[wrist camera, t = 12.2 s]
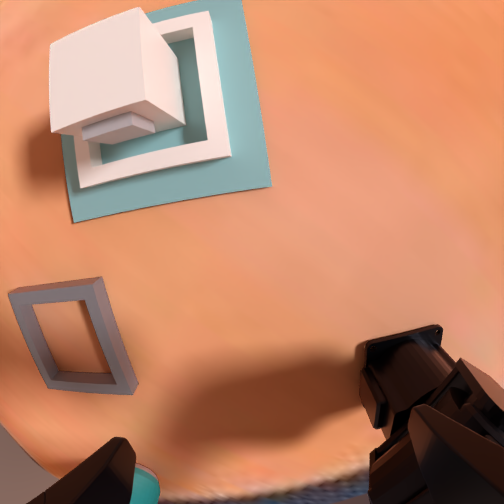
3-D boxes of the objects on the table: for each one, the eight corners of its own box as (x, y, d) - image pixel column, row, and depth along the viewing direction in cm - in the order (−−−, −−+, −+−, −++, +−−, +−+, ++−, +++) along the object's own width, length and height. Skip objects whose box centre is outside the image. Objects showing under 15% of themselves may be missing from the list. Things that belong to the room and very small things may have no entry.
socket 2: (240, -4, 14) (238, -19, 13) (271, 185, 18) (273, 187, 16) (61, 49, 15) (47, 42, 13) (76, 221, 18) (61, 227, 16)
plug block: (178, 58, 15) (139, 6, 8) (188, 135, 17) (147, 114, 10) (111, 78, 15) (50, 44, 9) (119, 151, 17) (52, 146, 10)
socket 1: (101, 276, 19) (92, 284, 18) (138, 383, 21) (132, 395, 20) (18, 287, 20) (7, 294, 18) (55, 379, 22) (48, 388, 20)
